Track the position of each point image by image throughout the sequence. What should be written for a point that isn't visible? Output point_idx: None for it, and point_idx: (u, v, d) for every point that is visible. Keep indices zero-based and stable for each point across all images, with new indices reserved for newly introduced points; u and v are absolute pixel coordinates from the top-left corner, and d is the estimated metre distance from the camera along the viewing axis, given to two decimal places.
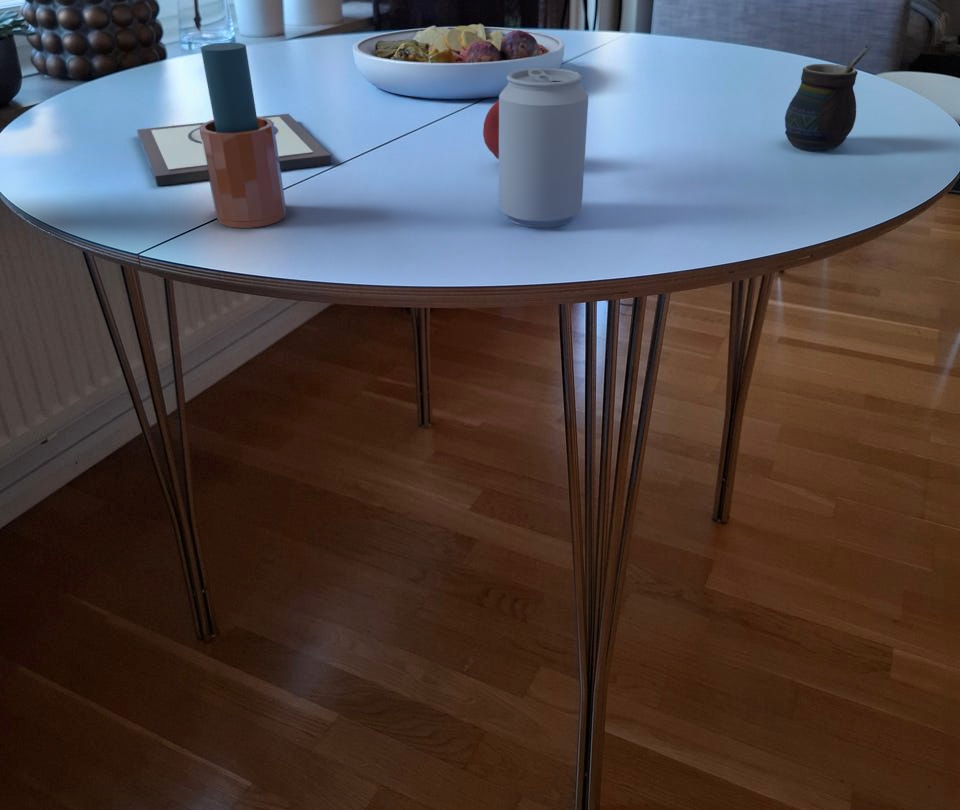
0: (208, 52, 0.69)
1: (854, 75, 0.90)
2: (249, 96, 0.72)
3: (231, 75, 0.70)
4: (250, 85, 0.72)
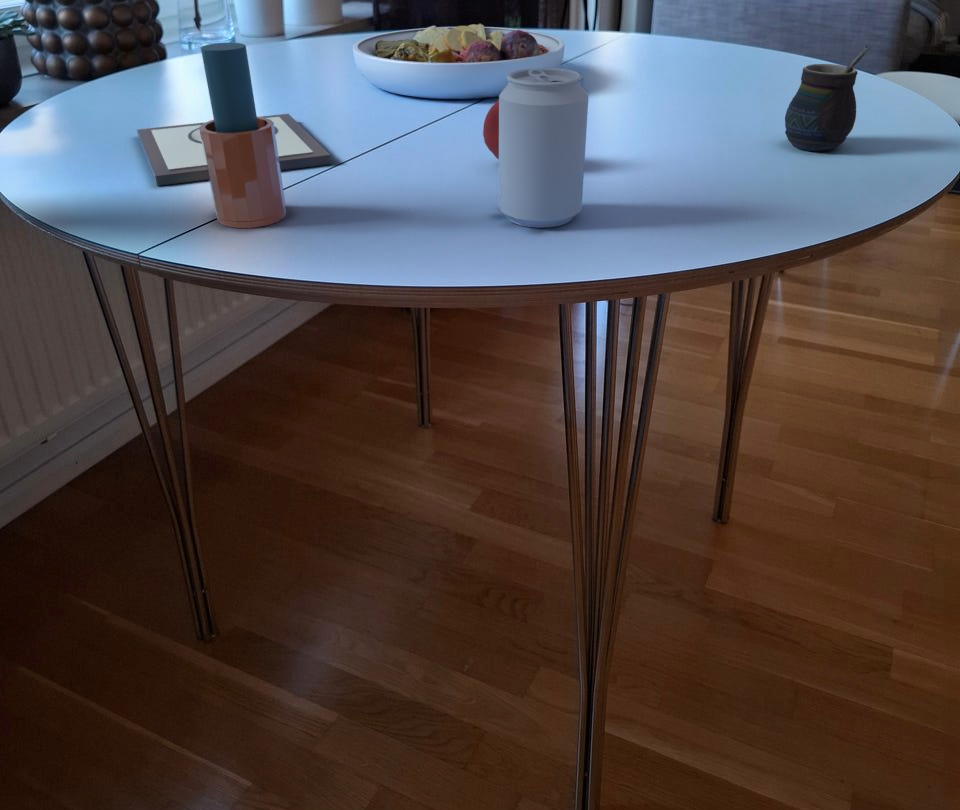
0: (208, 52, 0.69)
1: (854, 75, 0.90)
2: (249, 96, 0.72)
3: (231, 75, 0.70)
4: (250, 85, 0.72)
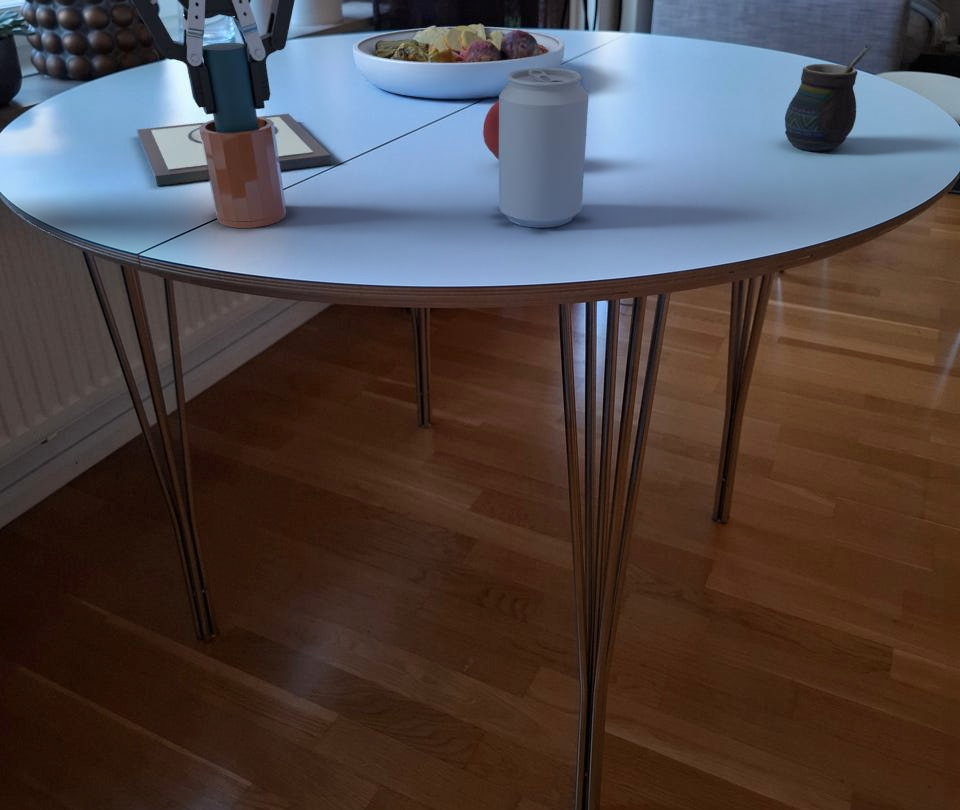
0: (208, 52, 0.69)
1: (854, 75, 0.90)
2: (249, 96, 0.72)
3: (231, 75, 0.70)
4: (250, 85, 0.72)
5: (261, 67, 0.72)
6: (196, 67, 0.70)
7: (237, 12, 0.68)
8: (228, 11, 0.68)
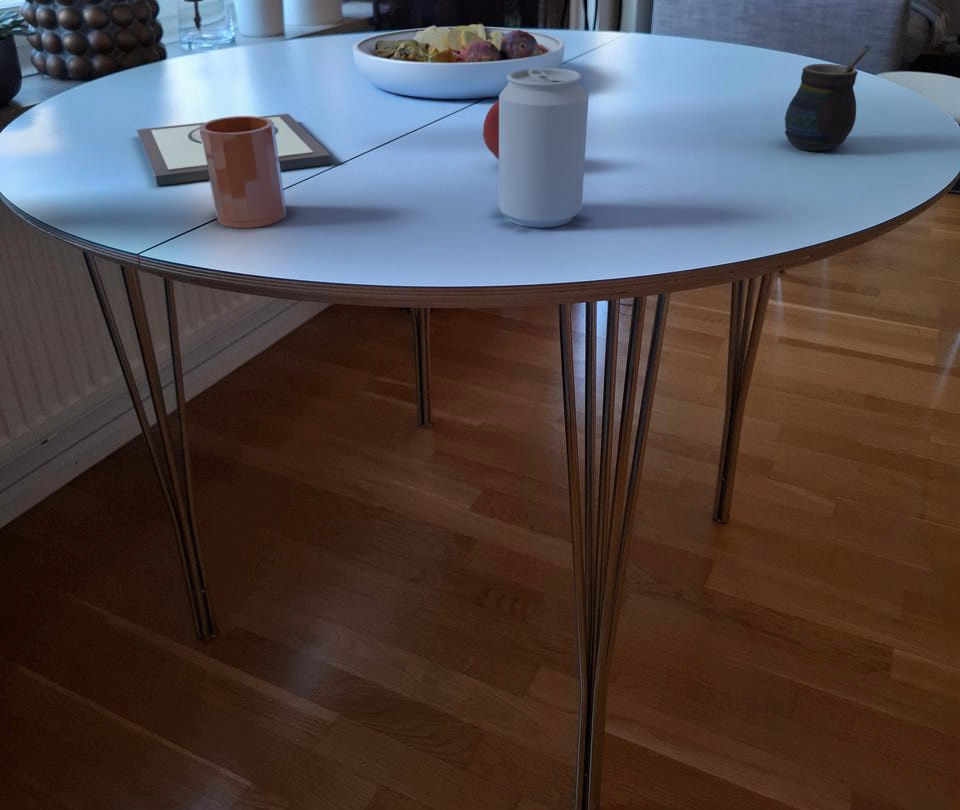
0: None
1: (854, 75, 0.90)
2: None
3: None
4: None
5: None
6: None
7: None
8: None
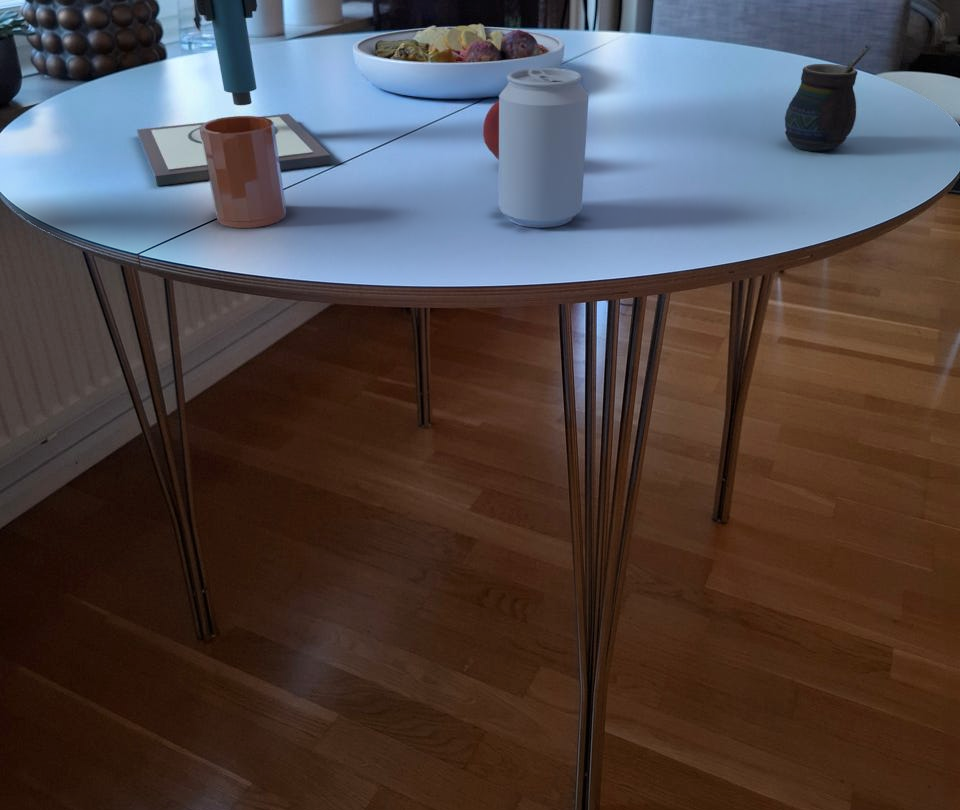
0: None
1: (854, 75, 0.90)
2: (240, 7, 0.92)
3: None
4: None
5: None
6: None
7: None
8: None
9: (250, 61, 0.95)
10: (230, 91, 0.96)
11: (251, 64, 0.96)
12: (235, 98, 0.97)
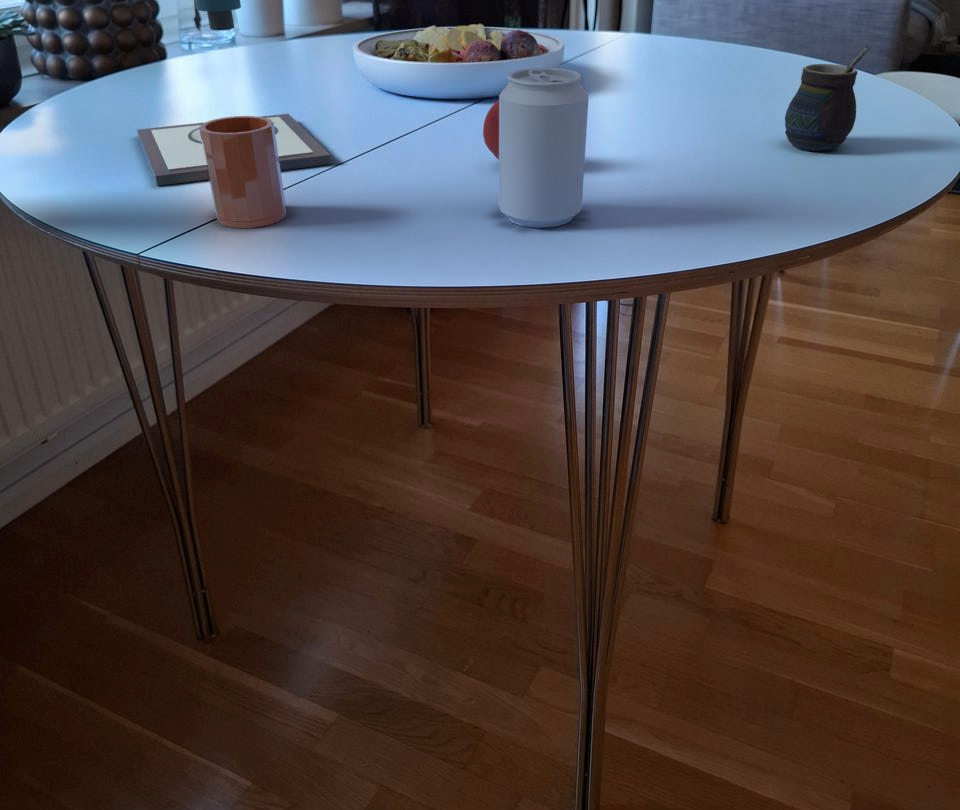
0: None
1: (854, 75, 0.90)
2: None
3: None
4: None
5: None
6: None
7: None
8: None
9: None
10: (204, 9, 0.70)
11: None
12: (212, 20, 0.71)
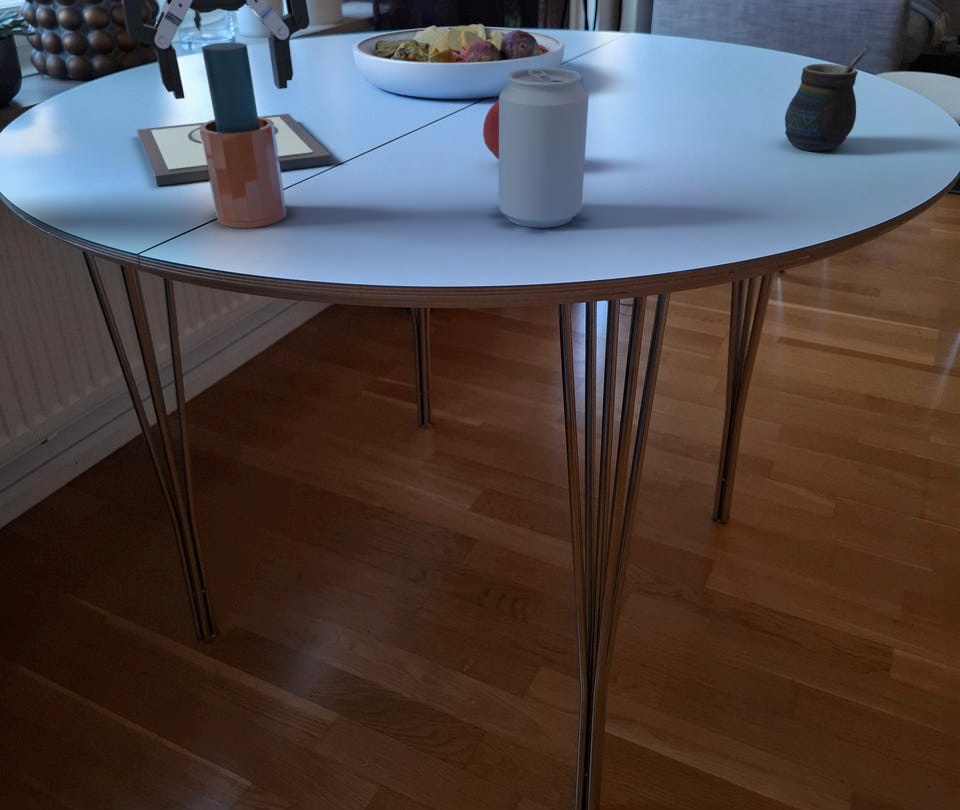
0: (209, 52, 0.69)
1: (854, 75, 0.90)
2: (250, 96, 0.72)
3: (232, 75, 0.70)
4: (251, 85, 0.72)
5: (284, 46, 0.72)
6: (164, 50, 0.68)
7: (249, 2, 0.68)
8: (227, 5, 0.68)
9: None
10: None
11: None
12: None
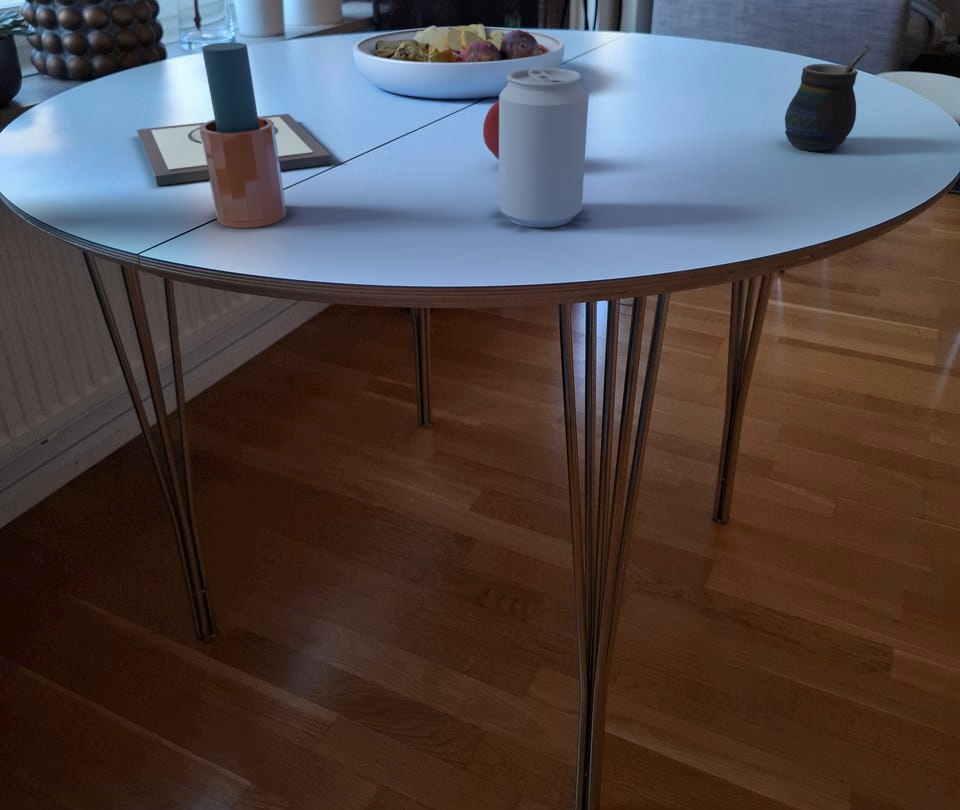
0: (209, 52, 0.69)
1: (854, 75, 0.90)
2: (250, 96, 0.72)
3: (232, 75, 0.70)
4: (251, 85, 0.72)
5: None
6: None
7: None
8: None
9: None
10: None
11: None
12: None
